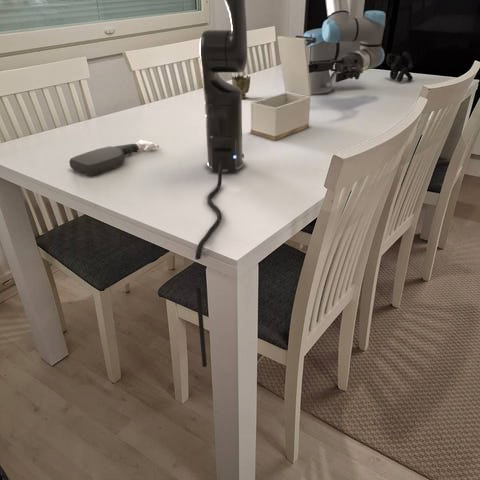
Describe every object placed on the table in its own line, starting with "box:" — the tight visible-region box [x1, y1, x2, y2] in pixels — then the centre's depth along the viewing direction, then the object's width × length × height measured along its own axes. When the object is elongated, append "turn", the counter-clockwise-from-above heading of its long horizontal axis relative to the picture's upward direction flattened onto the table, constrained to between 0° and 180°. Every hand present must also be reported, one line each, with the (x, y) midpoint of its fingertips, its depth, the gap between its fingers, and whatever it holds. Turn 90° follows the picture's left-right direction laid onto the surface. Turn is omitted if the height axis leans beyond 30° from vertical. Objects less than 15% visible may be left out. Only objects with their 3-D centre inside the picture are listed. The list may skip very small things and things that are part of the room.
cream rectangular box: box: [250, 91, 311, 141], centre depth 142 cm, size 17×10×10 cm, turn 136°
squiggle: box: [385, 51, 414, 83], centre depth 198 cm, size 11×10×15 cm
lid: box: [276, 35, 316, 97], centre depth 140 cm, size 18×10×8 cm
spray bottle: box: [68, 139, 160, 177], centre depth 124 cm, size 3×11×24 cm
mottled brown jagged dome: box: [231, 74, 252, 99], centre depth 177 cm, size 8×7×8 cm
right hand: (319, 74), depth 147 cm, fingers open, 13 cm apart
